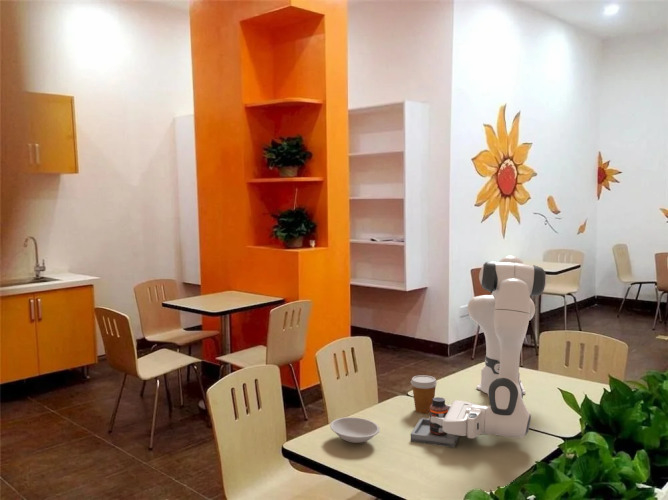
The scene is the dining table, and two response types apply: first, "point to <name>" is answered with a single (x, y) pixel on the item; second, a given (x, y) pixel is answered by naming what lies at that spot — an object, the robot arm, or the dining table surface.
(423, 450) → the dining table surface
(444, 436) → the tray
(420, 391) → the disposable coffee cup
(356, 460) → the dining table surface
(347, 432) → the dish
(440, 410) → the supplement bottle
